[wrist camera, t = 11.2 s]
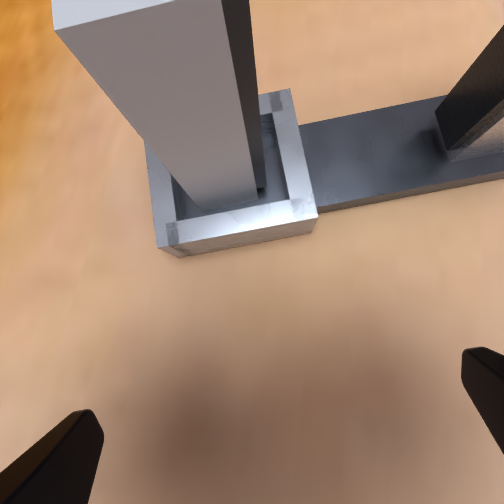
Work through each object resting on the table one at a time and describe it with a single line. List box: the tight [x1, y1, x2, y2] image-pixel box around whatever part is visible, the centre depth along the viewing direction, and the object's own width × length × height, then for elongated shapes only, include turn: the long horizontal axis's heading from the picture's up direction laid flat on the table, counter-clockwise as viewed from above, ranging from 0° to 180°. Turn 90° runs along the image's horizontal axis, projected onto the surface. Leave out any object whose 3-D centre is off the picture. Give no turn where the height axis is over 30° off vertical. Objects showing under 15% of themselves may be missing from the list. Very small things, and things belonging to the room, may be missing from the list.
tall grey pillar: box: [51, 0, 267, 212], centre depth 13 cm, size 3×4×12 cm
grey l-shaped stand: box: [144, 25, 504, 258], centre depth 13 cm, size 7×20×14 cm, turn 100°
